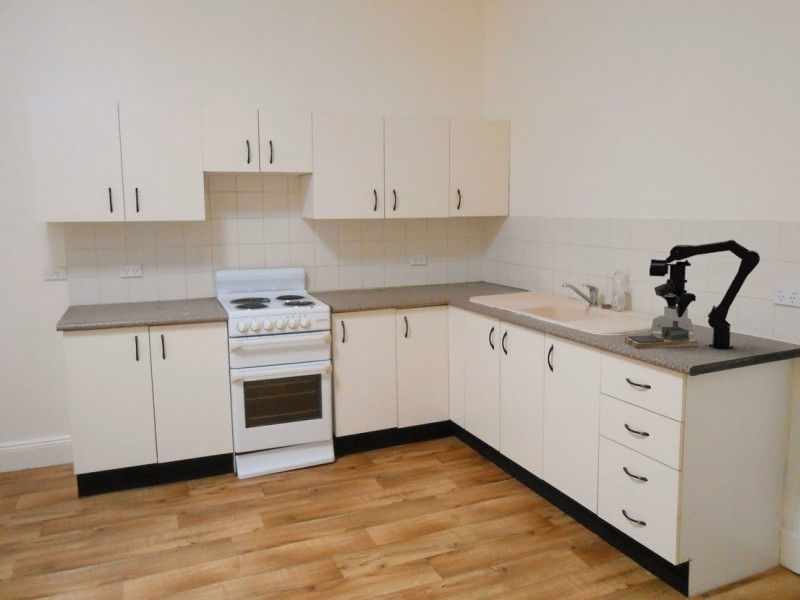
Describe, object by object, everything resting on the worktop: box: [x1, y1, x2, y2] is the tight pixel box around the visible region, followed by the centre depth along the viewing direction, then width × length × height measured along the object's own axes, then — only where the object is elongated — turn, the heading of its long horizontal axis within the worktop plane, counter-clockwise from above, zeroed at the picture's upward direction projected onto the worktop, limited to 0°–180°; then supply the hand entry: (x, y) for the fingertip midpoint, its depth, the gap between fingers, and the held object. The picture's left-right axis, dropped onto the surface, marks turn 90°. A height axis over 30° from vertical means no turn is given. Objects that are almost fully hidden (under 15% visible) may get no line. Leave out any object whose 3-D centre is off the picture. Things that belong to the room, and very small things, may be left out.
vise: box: [624, 321, 698, 350], centre depth 256 cm, size 12×24×9 cm, turn 94°
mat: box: [628, 334, 664, 343], centre depth 255 cm, size 10×10×1 cm
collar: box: [663, 305, 689, 319], centre depth 255 cm, size 6×6×4 cm
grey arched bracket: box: [650, 315, 695, 339], centre depth 270 cm, size 17×5×10 cm, turn 76°
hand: (675, 315), depth 255 cm, fingers closed on collar, 6 cm apart
